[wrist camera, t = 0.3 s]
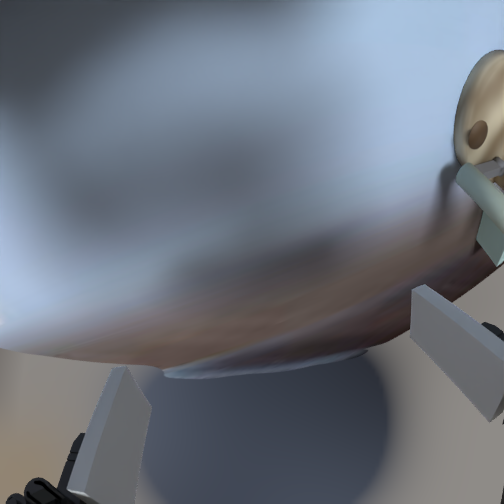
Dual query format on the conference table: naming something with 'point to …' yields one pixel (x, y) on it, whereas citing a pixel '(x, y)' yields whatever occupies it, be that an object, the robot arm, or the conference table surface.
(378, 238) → the conference table surface
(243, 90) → the conference table surface
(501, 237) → the right angle wall
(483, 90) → the upturned stool
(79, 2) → the conference table surface
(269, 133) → the conference table surface
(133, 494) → the robot arm
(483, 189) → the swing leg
